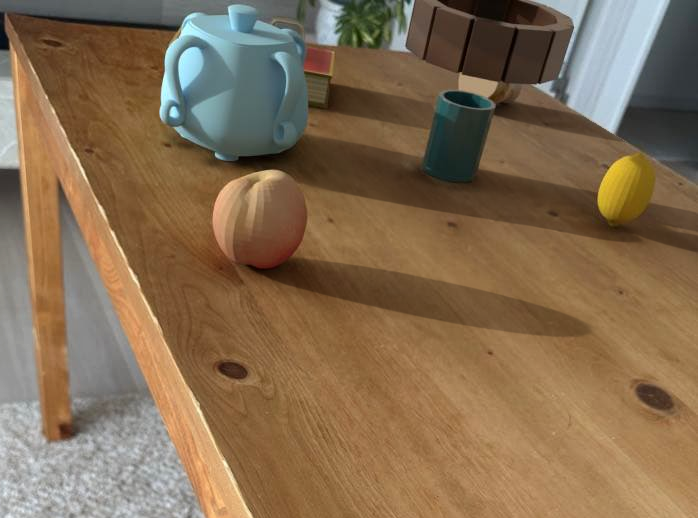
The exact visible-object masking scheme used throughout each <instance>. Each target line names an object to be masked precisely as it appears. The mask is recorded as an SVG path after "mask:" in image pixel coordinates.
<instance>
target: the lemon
mask: <svg viewBox="0 0 698 518" xmlns="http://www.w3.org/2000/svg"><path fill="white" fill-rule="evenodd" d="M655 185H656V171H655V168H654V166H653V164H652V163H651V161H650V160H649V159H647V157H646V156H645V154H644V153H642V152H637V153H635V154H630V155H626V156H623V157H621V158H620V159H618V160H616V161H615V162H613V164H612V165H610V167H609V169H607V171H606V173H605V175H604V177H603V178H602V181H601V183H600V186H599V189H598V193H597V206H598V210H599V212H600V214H601V215H602V216H603V218H605V219H606V221H607V223H608V226H610V227H616V226H618V225H620V224H625V223H629V222H632V221H633V220H635V219H637V218H638V217H639V216H641V214H643V212H644V211H645V210H646V208H647V207H648V205H649V203H650V201H651V199H652V197H653V194H654V191H655Z"/></svg>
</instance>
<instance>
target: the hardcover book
mask: <svg viewBox="0 0 698 518" xmlns="http://www.w3.org/2000/svg"><path fill="white" fill-rule="evenodd" d="M181 29H182V24H181V25H180V27H179V28H178V30H177V31H176V33H175V34H174V36H173V37H172V39H171V40H170V42H169V43H168V44H167V49H166V51H167V50H168V48H169V46H170V45H171V44H172V42H173V41H175V40H176V39H178V38H179V37H180V35H181ZM335 56H336V51H332V50H327V49H323V48H316V47H311V46H306V57H305V62H304V65H303V70H304V75H305V80H306V85H307V93H308V106H311V107H315V108H321V109H328V104H329V95H330V89H331V81H332V79H333V73H334V64H335Z"/></svg>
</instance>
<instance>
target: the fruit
mask: <svg viewBox="0 0 698 518" xmlns="http://www.w3.org/2000/svg"><path fill="white" fill-rule="evenodd" d="M308 218H309V217H308V208H307V201H306V198H305V194H304V193H303V190H302V188H301V187H300V185H299V184H298V183H297V181H296V180H294V179H293V177H291V176H290V175H289V174H288V173H287V172H284V171H281V170H279V169H266V170H265V169H264V170H260V171H257V172H251V173H249V174H247V175H244V176H241V177H238V178H236V179H232V180H231V181H229V182H228V183H227V184H226V185H225V186H224V187H223V188H222V189H221V190H220V192H219V193H218V196H217V197H216V200H215V203H214V205H213V212H212V229H213V233H214V236H215V239H216V242H217V244H218V246H219V247H220V249H221V251H222V252H223V254H224V255H225V256H226V257H227V258H228V259H229V260H230V261H231V262H233V263H234V264H236V265H238V266H239V265H240V266H252V267H254V268H257V269H263V270H264V269H265V270H266V269H272V268H275V267H277V266H279V265H281V264H284V262H285V261H287V260H289V259H290V258H291V257H292V256H293V255H294V253H296V251H297V250H298V248H299V247H300V245H301V243H302V241H303V239H304V235H305V232H306V228H307V225H308Z"/></svg>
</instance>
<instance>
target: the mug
mask: <svg viewBox="0 0 698 518" xmlns="http://www.w3.org/2000/svg"><path fill="white" fill-rule="evenodd" d="M457 82H458V90H462V91H467V92H472V93H475V94H478V95H481V96H484V97H486V98H488V99H490V100H492V101H493V102H494V103H495V106H497V105H498V104H500V103H503V104H511V103H513V102H515V101H517V99H518V98H519V96H520V94H521V91H522V86H523V84H512V83H504V82H502V81H500V82H495V81H490V80H485V79H480V78H476V77H471V76H466V75H462V72H460V73H459V75H458V81H457Z"/></svg>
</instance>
